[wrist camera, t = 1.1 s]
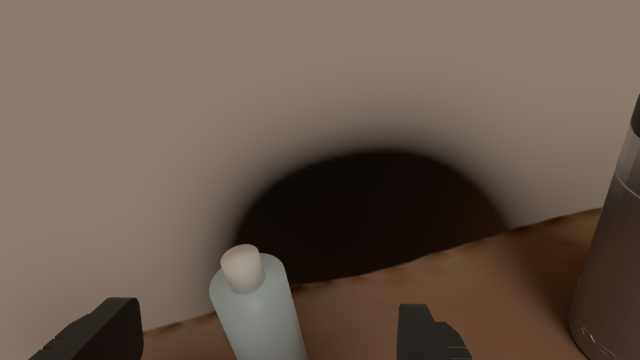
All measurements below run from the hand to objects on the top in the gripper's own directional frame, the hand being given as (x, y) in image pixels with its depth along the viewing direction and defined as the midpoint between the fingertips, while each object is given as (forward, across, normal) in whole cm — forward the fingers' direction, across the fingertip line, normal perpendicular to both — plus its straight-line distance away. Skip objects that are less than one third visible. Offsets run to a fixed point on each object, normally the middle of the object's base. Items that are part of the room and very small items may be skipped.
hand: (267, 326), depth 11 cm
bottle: (+15, +2, +15) cm, 22 cm away
